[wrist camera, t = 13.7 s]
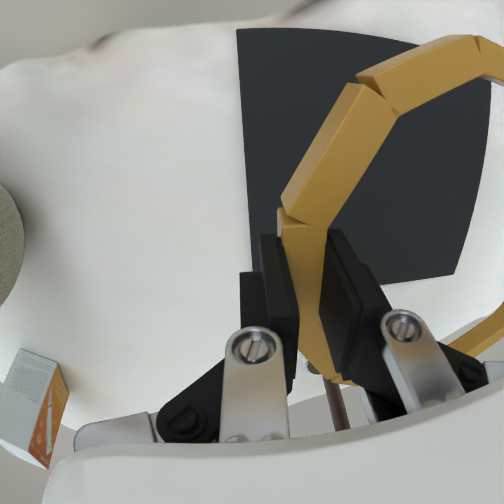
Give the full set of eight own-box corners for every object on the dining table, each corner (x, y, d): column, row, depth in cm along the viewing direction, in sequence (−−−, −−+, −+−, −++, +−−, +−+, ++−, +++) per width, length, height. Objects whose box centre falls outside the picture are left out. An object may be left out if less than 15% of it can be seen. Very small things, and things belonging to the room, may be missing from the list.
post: (308, 352, 29) (326, 431, 21) (346, 347, 29) (370, 422, 21) (305, 373, 31) (319, 446, 23) (340, 368, 31) (359, 438, 23)
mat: (236, 30, 14) (236, 29, 13) (486, 68, 14) (491, 69, 13) (254, 293, 24) (254, 298, 23) (450, 271, 24) (453, 274, 24)
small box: (70, 393, 33) (49, 471, 22) (34, 379, 32) (8, 452, 21) (59, 361, 29) (28, 453, 18) (19, 346, 28) (-17, 429, 17)
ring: (267, 2, 6) (272, -10, 5) (576, 102, 6) (593, 108, 5) (277, 388, 16) (279, 409, 15) (501, 336, 16) (510, 349, 15)
